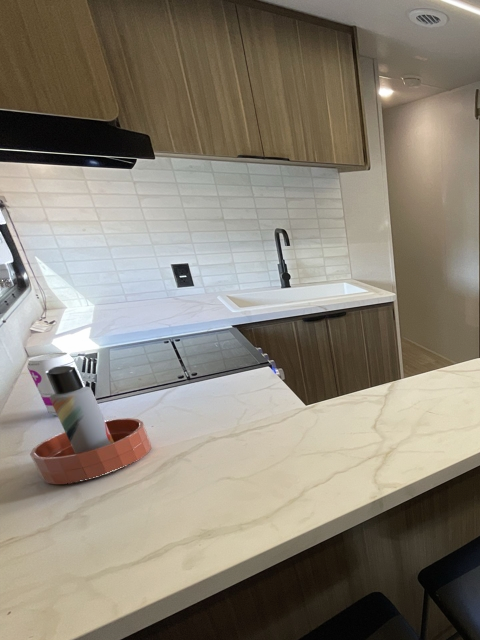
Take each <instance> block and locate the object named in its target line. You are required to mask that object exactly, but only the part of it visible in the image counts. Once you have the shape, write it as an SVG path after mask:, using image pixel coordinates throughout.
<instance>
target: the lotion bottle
mask: <svg viewBox="0 0 480 640" xmlns="http://www.w3.org/2000/svg"><path fill="white" fill-rule="evenodd" d="M46 374H47V377H48V379H49V381H50V384H51V386H52V388H53V390H54V394H52V395H51V396H50V400H51V402H52V405H53V407H54V409H55V411H56V413H57V415H56V416H57V418H58V420H59V422H60V424H61V426H62V428H63V430H64V432H65V433H66V435H67V437H68V439H69V441H70V443H71V445H72V448H73V450H74V452H75V454H79V453H83V452H87V451H91V450H94V449H98V448H100V447H103V446H106V445H109V444H112V443H114V441H113V439H112V437H111V434H110V432H109V430H108V427H107V425H106V422H105V421H106V420H105V418H104V416H103V413H102V410H101V408H100V406H99V404H98V401H97V399H96V397H95V394H94V392H93V390H92V388H91V387H90V386H85V387H83V384H82V382H81V380H80V378H79V376H78V373H77V371H76V369H75V367H74V366H72V367H71V366H59V367H55V368H52V369H50V370H49V371H48V372H46Z"/></svg>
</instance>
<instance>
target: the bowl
mask: <svg viewBox="0 0 480 640" xmlns="http://www.w3.org/2000/svg"><path fill="white" fill-rule="evenodd" d="M105 422H106V425H107V427H108V430H109V432H110V434H111V437H112V439H113V441H114V443H112V444H109V445H106V446H103V447H100V448H98V449H94V450H91V451H87V452H83V453H79V454H75V452H74V450H73V448H72V445H71V443H70V441H69V439H68V437H67V435H66V433H65V431H63V432H61V433H58V434H55V435H53V436H51V437H48V438H47V439H45V440H43V441H41V442H40V443H38V444H37V445H36V446H34V447H33V448H32V449H31V451H30V453H29V456H30V458H31V460H32V462H33V464H34V465H35V467H36V470H37V471H38V473H39V475H40V478H41V479H42V480H43V481H44V482H45V483H46V484H50V485H51V484H52V485H67V483H68V484H72V483H71V482H75V483H77V482H76V481H80V480H85V479H89V478H93V477H96V476H100V475H102V474H105V473H107V472H110V471H112V470H115V469H118V468H120V467H123V466H125V465H128V464H130V463H132V462H134V461H136V460H138V459H139V460H141V459H142V458H143V457H145V456H146V455H148V453H149V452H150V451H151V449H152V442H151V440H150V437H149V434H148V431H147V429H146V427H145V424H144V422H143V420H141V419H138V418H132V417H131V418H130V417H127V418H114V419H107V420H105ZM141 457H142V458H141ZM139 460H138V461H139ZM136 462H137V461H136ZM134 463H135V462H134ZM132 464H133V463H132ZM130 465H131V464H130Z"/></svg>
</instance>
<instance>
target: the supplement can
mask: <svg viewBox="0 0 480 640" xmlns="http://www.w3.org/2000/svg"><path fill="white" fill-rule="evenodd" d="M26 366H27V369H28V372H29V374H30V376H31V378H32V380H33V383H34V385H35V386H36V389H37V391H38V393H39V395H40V397H41V400H42V402H43V403H44V406H45V408H46V410H47V412H48V414H50V415H53V416H58V415H57V413H56V411H55V409H54V407H53V405H52V402H51V400H50V396H51V395H52V394H54V390H53V388H52V386H51V384H50V381H49V379H48V377H47V374H46V372H48V371H49V370H50V369H52V368H55V367H59V366H71V367H72V366H74V367H75V369H76V371H77V373H78V376H79V378H80V380H81V382H82V384H83V387H86V386H85V383H84V381H83V378H82V376H81V373H80V372H79V368H78V367H77V364H76V362H75V360H74V357H72V356H71V355H70V354H69V353H68V352H53V353H47V354H41V355H38V356H37V355H36V356H33V357H31V358H28V360H27V365H26Z"/></svg>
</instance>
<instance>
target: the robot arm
mask: <svg viewBox="0 0 480 640" xmlns="http://www.w3.org/2000/svg"><path fill="white" fill-rule="evenodd" d="M5 224H7V221H6V218H5V216H4V214H3V212H2V210H1V208H0V225H5ZM13 262H14V257H13V254H12V252H11V249H10V248H9V246H8V244H7V242H6V239H5V238H4V236H3V234H2V232H1V231H0V292H2V291H3V288H12V287H14V285H15V284H14V282H13V280H12V277H11V272H10V268H9V266H8V264H10V263H13Z"/></svg>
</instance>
